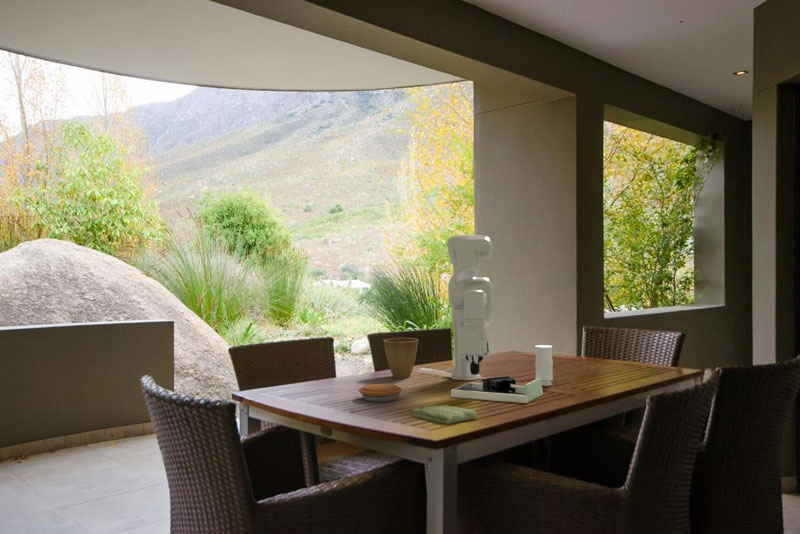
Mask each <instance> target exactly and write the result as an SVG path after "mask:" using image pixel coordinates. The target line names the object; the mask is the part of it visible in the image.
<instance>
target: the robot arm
mask: <svg viewBox="0 0 800 534" xmlns="http://www.w3.org/2000/svg"><path fill="white" fill-rule="evenodd" d="M446 245H447V251H448V253H447V254H448V257H449V259H450V262H451V264H452V267H453V274H452V275H451V276H450V279H449V281H448V286H447V294H448V295H447V296H448V305H449V306H450V308H451V309H450V310H451V311H450V315H451V321H452V329H453V330H452V331H453V366H452V367H446V368H445V371H446V373H451V375H450V379H451V380H454V381H455V380H456V381H477V380H480V379H481V378H482V377H481V375H480V374H479V373H480V363H481V362H483V360H485V359H489V358H490V354H489V353H490V343H489V335H488V331H487V327H485V326H490V325H491V324H493V321H494V299H493V286H492V285H493V284H492V282H491V280H490V279H489V278H488V277H485V276H478V274H479V273H480V271H481V270H480V269H481V268H480V260H479V259H489V258H491V257H492V256H493V252H494V251H493V249H494V247H493V242H492V240H491V239H490V237H489V236H488V235H487V234H486V235H485V234H484V235H483V234H480V235H478V234H476V235H475V234H472V235H471V234H469V235H468V234H467V235H466V234H465V235H464V234H462V235H461V234H460V235H453V236H450V237H449V238H448V239H447V243H446ZM477 276H478V277H477Z"/></svg>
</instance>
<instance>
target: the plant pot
mask: <svg viewBox="0 0 800 534" xmlns="http://www.w3.org/2000/svg"><path fill="white" fill-rule="evenodd" d="M383 345H384V351H385V356H386V361H387V363H388V366H389V370H390V373H391V375H392V377H393V378H395V379H396V378H397V379H405V378H410V377H411V375H412V372H413V368H414V366H415V361H416V357H417V352H418V351H417V350H418V345H419V338H418V339H417V338H414V337H396V338H394V337H393V338H386V339H383Z"/></svg>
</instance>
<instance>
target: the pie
mask: <svg viewBox="0 0 800 534" xmlns="http://www.w3.org/2000/svg"><path fill="white" fill-rule="evenodd" d="M402 391H403V388H402V387H400V386H398V385H397V384H395V383H393V384H392V383H372V384H366V385H363V386H362V387H360V388H358V392H359V393H360V394H361V396H362V398H363V399H364V400H365V401H366V402H372V403H388V402H393V401H396V400H397V399H398V397H399V395H400V393H401V392H402Z"/></svg>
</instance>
